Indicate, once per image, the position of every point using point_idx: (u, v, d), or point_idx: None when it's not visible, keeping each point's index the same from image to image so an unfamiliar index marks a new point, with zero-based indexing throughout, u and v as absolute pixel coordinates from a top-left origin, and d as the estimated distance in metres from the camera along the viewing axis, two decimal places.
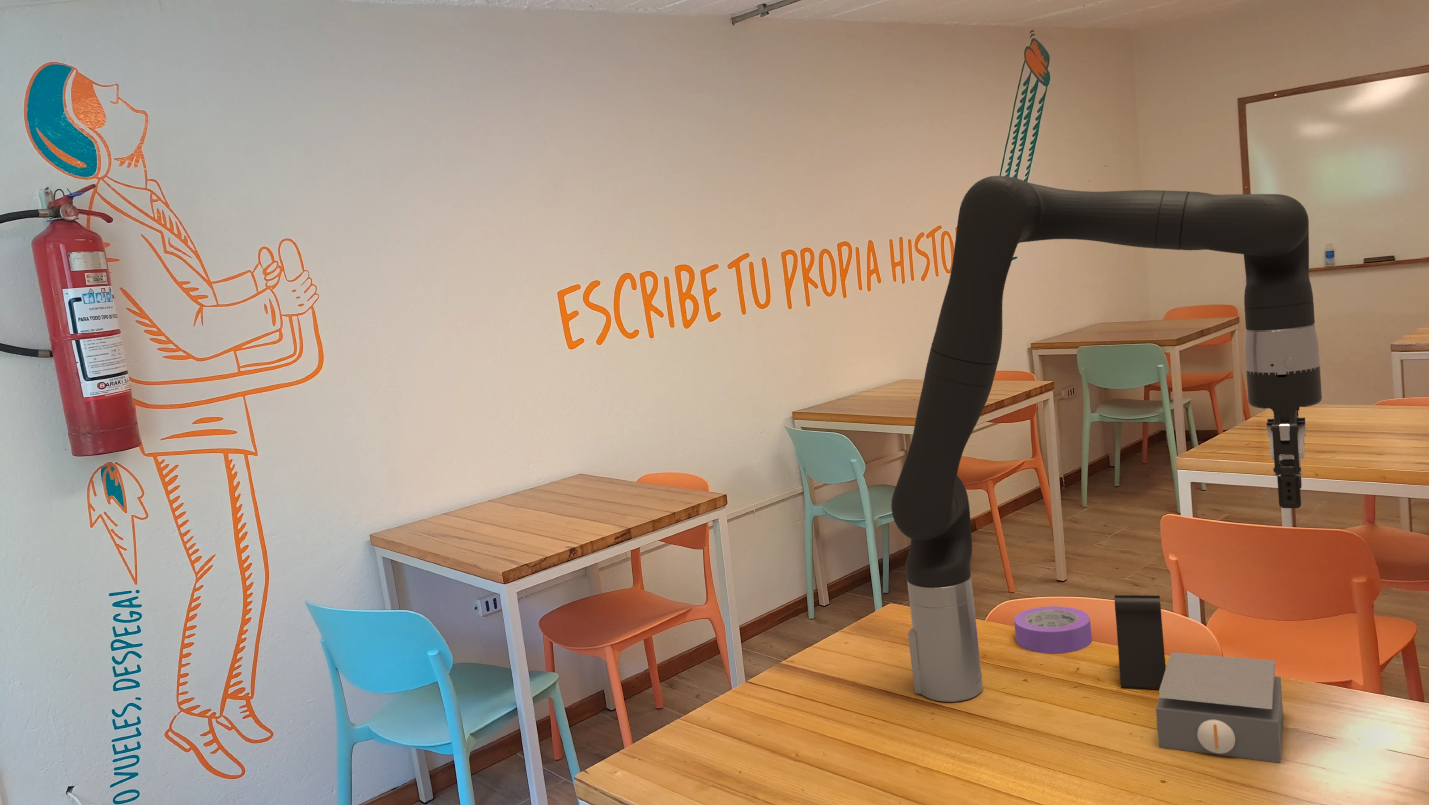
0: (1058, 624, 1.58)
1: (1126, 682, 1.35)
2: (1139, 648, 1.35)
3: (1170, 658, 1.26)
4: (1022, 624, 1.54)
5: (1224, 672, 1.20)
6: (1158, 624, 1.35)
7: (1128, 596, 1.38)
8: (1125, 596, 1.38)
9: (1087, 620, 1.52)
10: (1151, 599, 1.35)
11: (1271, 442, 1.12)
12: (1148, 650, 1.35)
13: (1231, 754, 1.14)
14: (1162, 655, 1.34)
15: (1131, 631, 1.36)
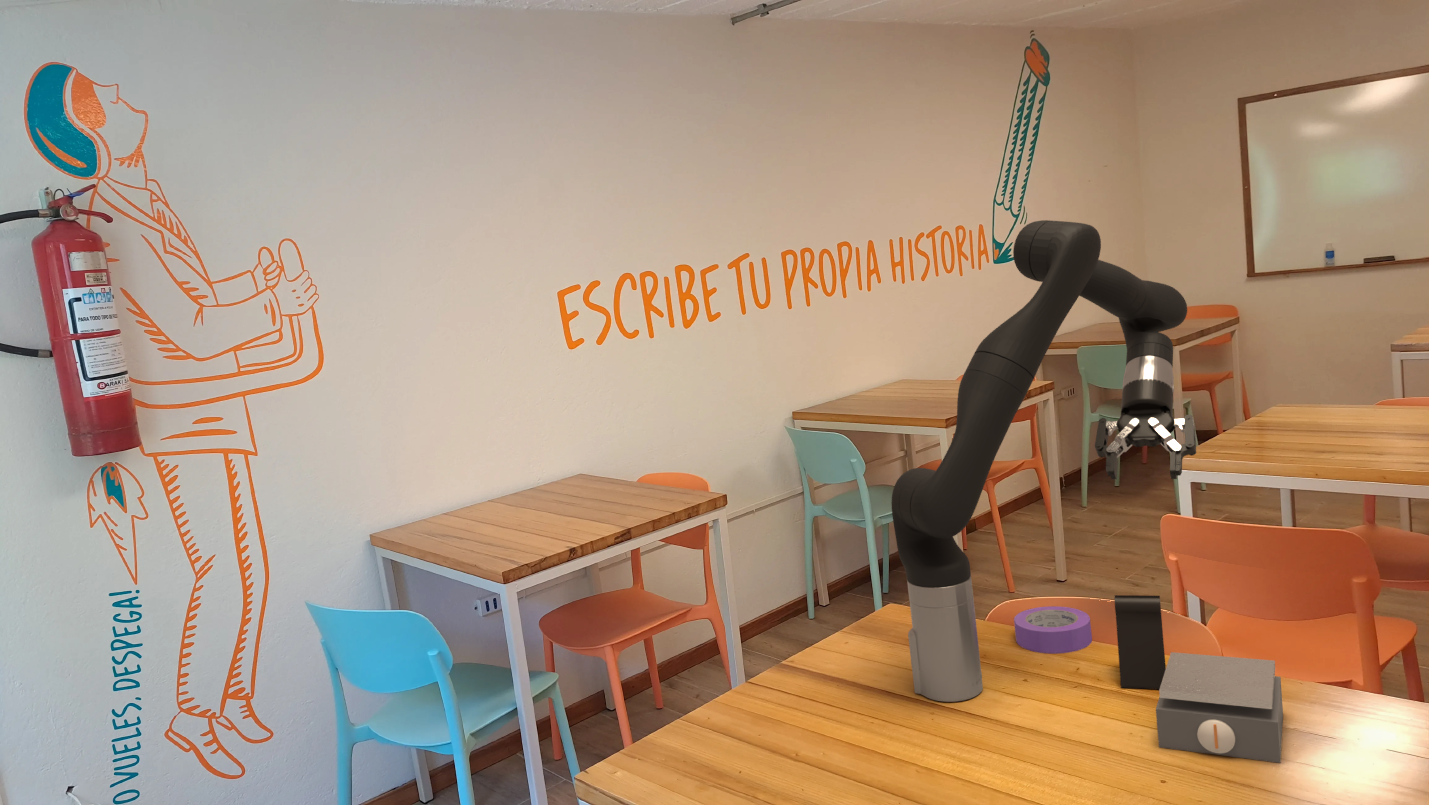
0: (1058, 624, 1.58)
1: (1126, 682, 1.35)
2: (1139, 648, 1.35)
3: (1170, 658, 1.26)
4: (1022, 624, 1.54)
5: (1224, 672, 1.20)
6: (1158, 624, 1.35)
7: (1128, 596, 1.38)
8: (1125, 596, 1.38)
9: (1087, 620, 1.52)
10: (1151, 599, 1.35)
11: (1165, 429, 1.48)
12: (1148, 650, 1.35)
13: (1231, 754, 1.14)
14: (1162, 655, 1.34)
15: (1131, 631, 1.36)
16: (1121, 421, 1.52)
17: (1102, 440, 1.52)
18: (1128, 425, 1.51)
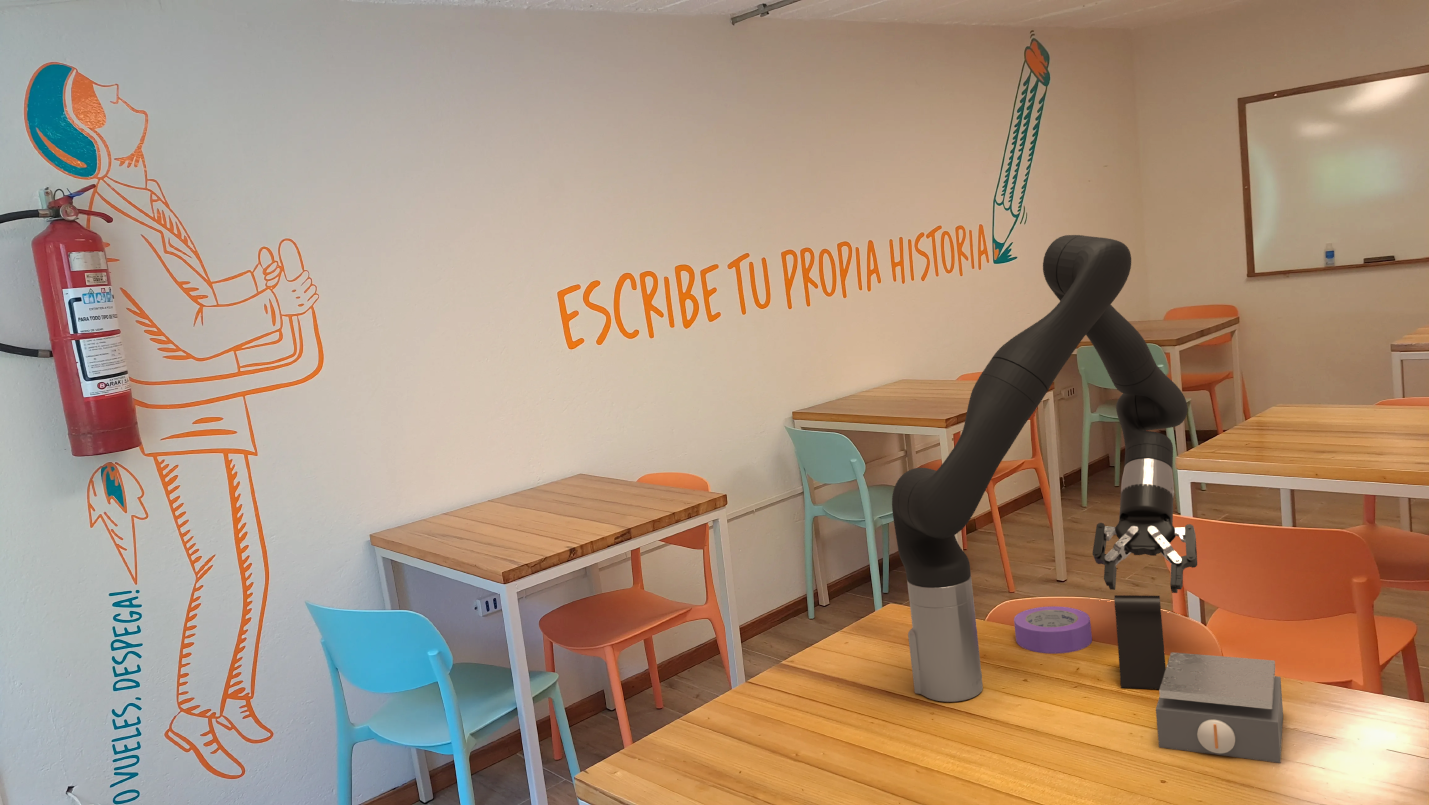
0: (1058, 624, 1.58)
1: (1126, 682, 1.35)
2: (1139, 648, 1.35)
3: (1170, 658, 1.26)
4: (1022, 624, 1.54)
5: (1224, 672, 1.20)
6: (1158, 624, 1.35)
7: (1128, 596, 1.38)
8: (1125, 596, 1.38)
9: (1087, 620, 1.52)
10: (1151, 599, 1.35)
11: (1165, 539, 1.43)
12: (1148, 650, 1.35)
13: (1231, 754, 1.14)
14: (1162, 655, 1.34)
15: (1131, 631, 1.36)
16: (1120, 527, 1.48)
17: (1100, 547, 1.47)
18: (1127, 533, 1.46)
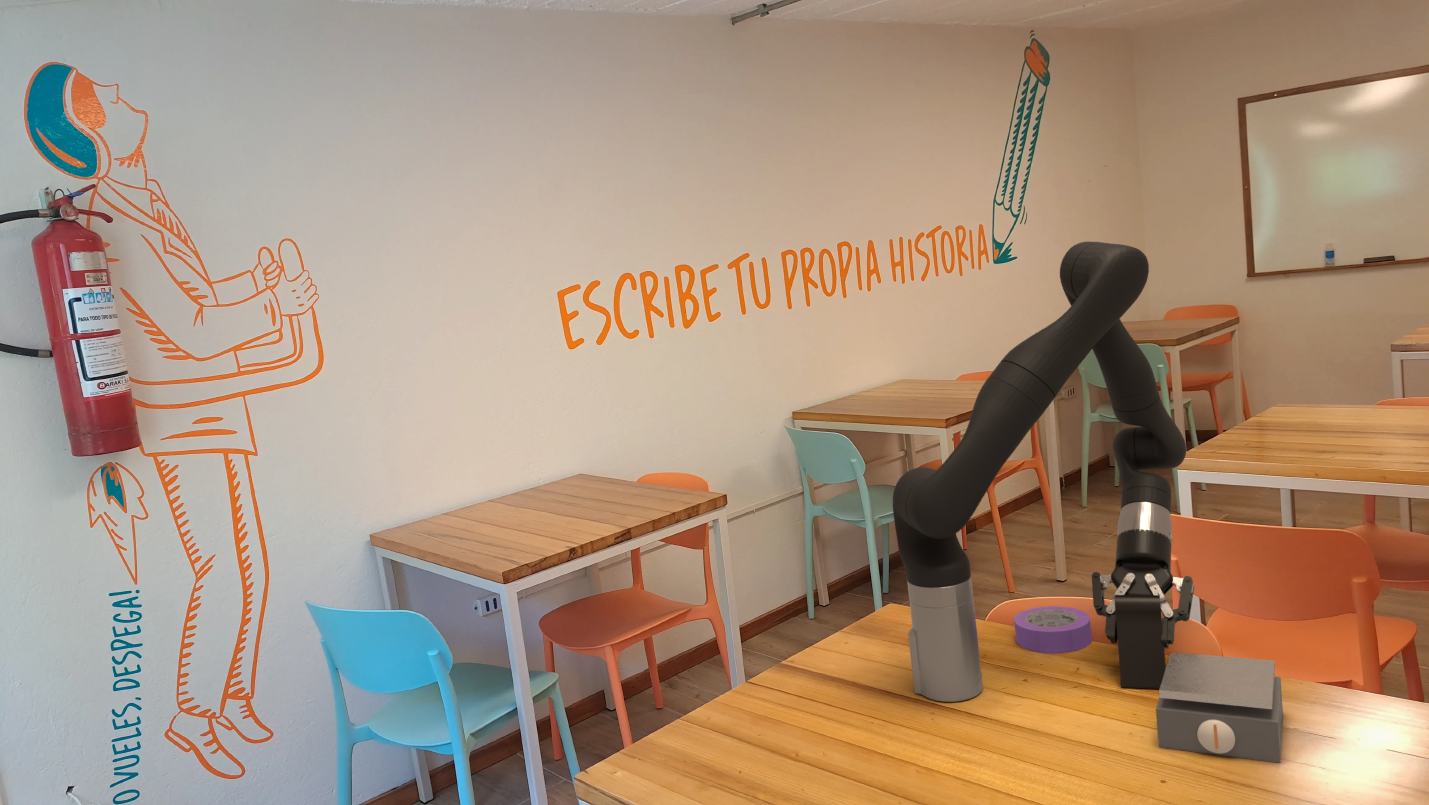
0: (1058, 624, 1.58)
1: (1126, 682, 1.35)
2: (1139, 648, 1.35)
3: (1170, 658, 1.26)
4: (1022, 624, 1.54)
5: (1224, 672, 1.20)
6: (1158, 624, 1.35)
7: (1128, 596, 1.38)
8: (1125, 596, 1.38)
9: (1087, 620, 1.52)
10: (1151, 599, 1.35)
11: (1161, 590, 1.38)
12: (1148, 650, 1.35)
13: (1231, 754, 1.14)
14: (1162, 655, 1.34)
15: (1131, 631, 1.36)
16: (1116, 574, 1.42)
17: (1100, 598, 1.41)
18: (1124, 581, 1.41)
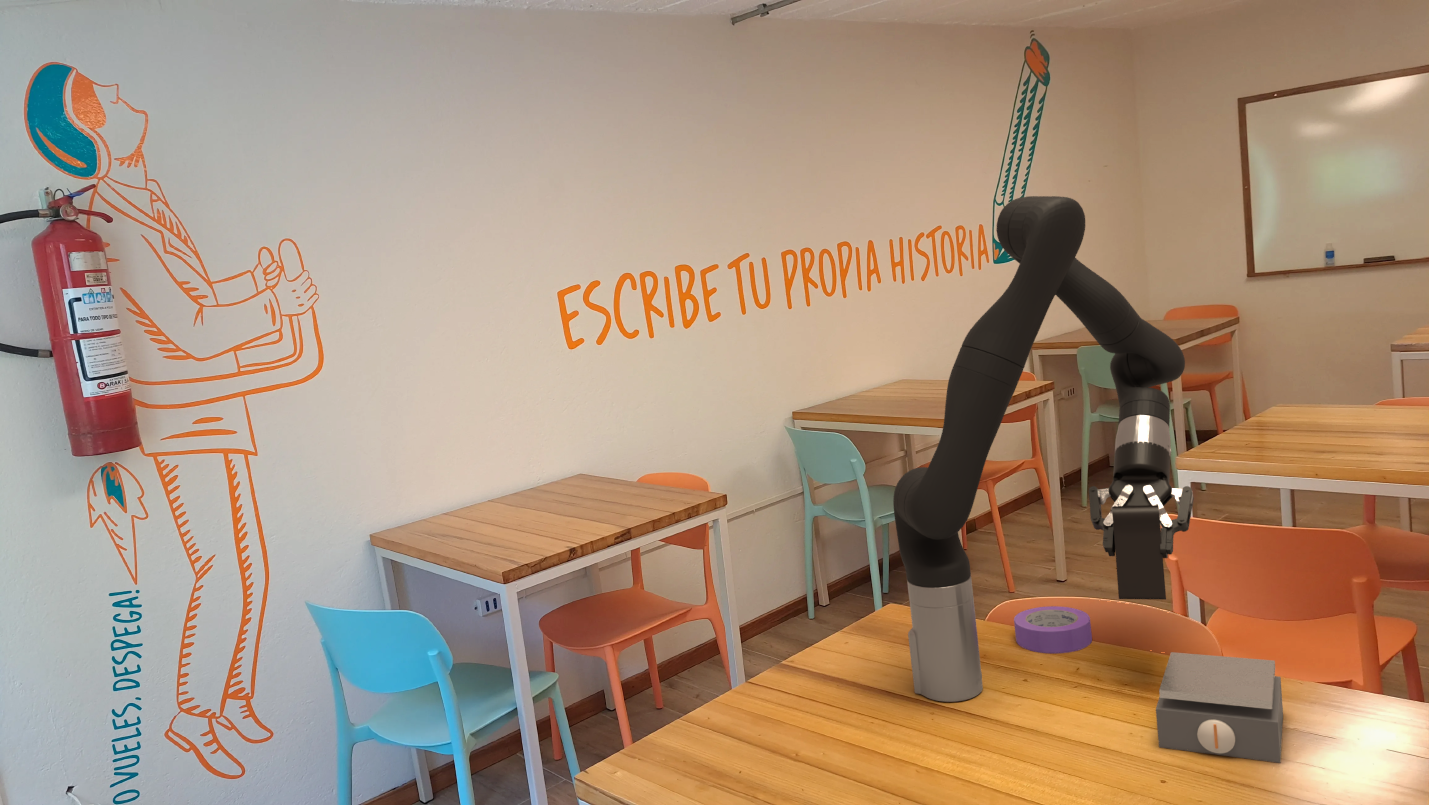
0: (1058, 624, 1.58)
1: (1124, 593, 1.32)
2: (1137, 558, 1.32)
3: (1170, 658, 1.26)
4: (1022, 624, 1.54)
5: (1224, 672, 1.20)
6: (1157, 533, 1.32)
7: (1126, 507, 1.35)
8: (1123, 507, 1.35)
9: (1087, 620, 1.52)
10: (1150, 508, 1.32)
11: (1159, 501, 1.35)
12: (1147, 560, 1.32)
13: (1231, 754, 1.14)
14: (1161, 564, 1.31)
15: (1129, 541, 1.33)
16: (1113, 488, 1.39)
17: (1097, 511, 1.38)
18: (1122, 493, 1.37)
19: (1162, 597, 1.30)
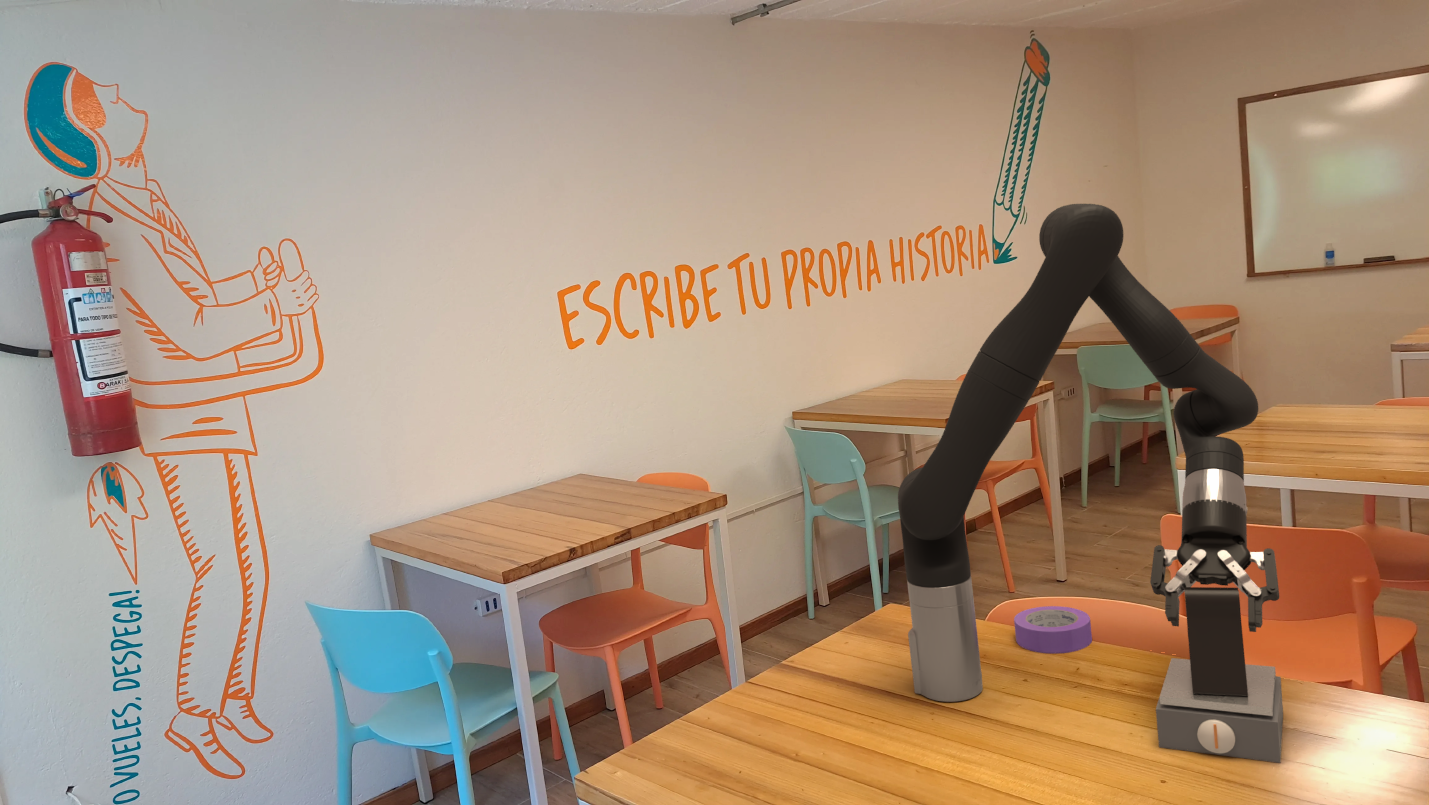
0: (1058, 624, 1.58)
1: (1199, 687, 1.17)
2: (1214, 648, 1.17)
3: (1170, 664, 1.26)
4: (1022, 624, 1.54)
5: None
6: (1237, 620, 1.17)
7: (1200, 588, 1.20)
8: (1197, 588, 1.20)
9: (1087, 620, 1.52)
10: (1228, 592, 1.17)
11: (1240, 566, 1.19)
12: (1225, 650, 1.17)
13: (1231, 754, 1.14)
14: (1242, 656, 1.16)
15: (1205, 628, 1.18)
16: (1183, 551, 1.24)
17: (1159, 575, 1.23)
18: (1192, 558, 1.22)
19: (1243, 694, 1.15)
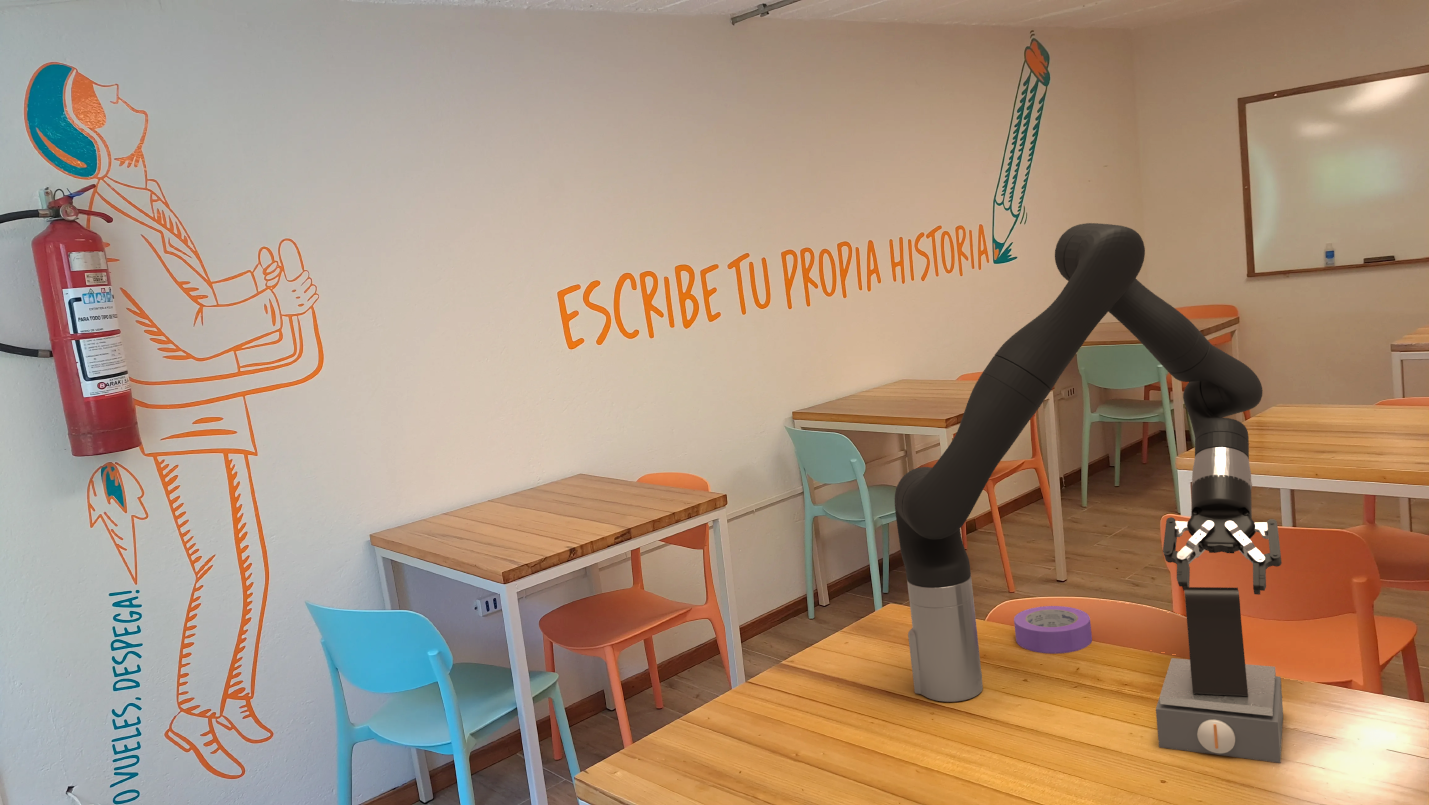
0: (1058, 624, 1.58)
1: (1199, 687, 1.17)
2: (1214, 648, 1.17)
3: (1170, 664, 1.26)
4: (1022, 624, 1.54)
5: None
6: (1237, 620, 1.17)
7: (1200, 588, 1.20)
8: (1197, 588, 1.20)
9: (1087, 620, 1.52)
10: (1228, 592, 1.17)
11: (1245, 535, 1.30)
12: (1225, 650, 1.17)
13: (1231, 754, 1.14)
14: (1242, 656, 1.16)
15: (1205, 628, 1.18)
16: (1192, 522, 1.35)
17: (1171, 544, 1.34)
18: (1201, 528, 1.33)
19: (1243, 694, 1.15)
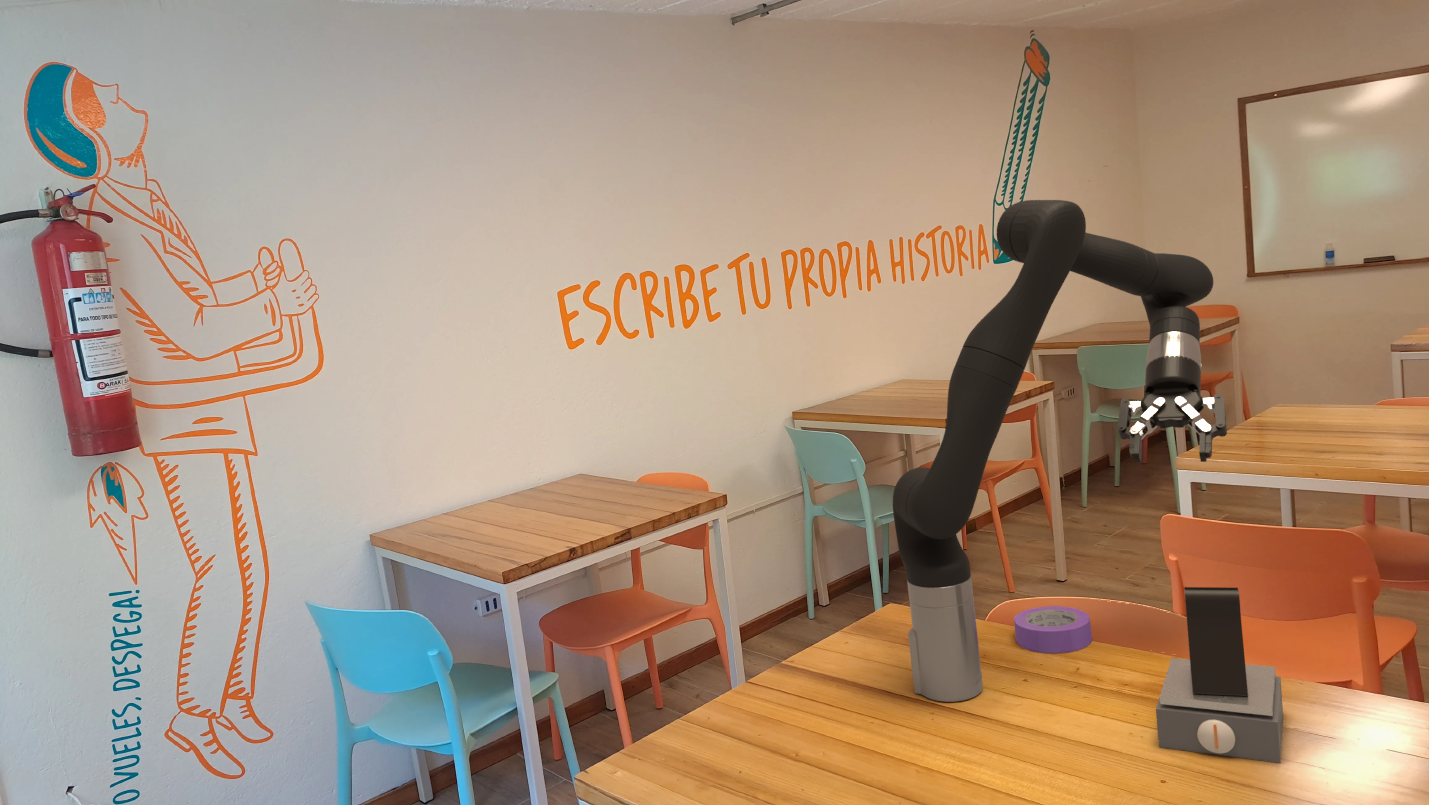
0: (1059, 624, 1.58)
1: (1199, 687, 1.17)
2: (1214, 648, 1.17)
3: (1170, 664, 1.26)
4: (1022, 623, 1.54)
5: None
6: (1237, 620, 1.17)
7: (1200, 588, 1.20)
8: (1197, 588, 1.20)
9: (1087, 620, 1.52)
10: (1228, 592, 1.17)
11: (1193, 409, 1.38)
12: (1225, 650, 1.17)
13: (1231, 754, 1.14)
14: (1242, 656, 1.16)
15: (1205, 628, 1.18)
16: (1145, 401, 1.43)
17: (1125, 421, 1.42)
18: (1153, 405, 1.41)
19: (1243, 694, 1.15)
